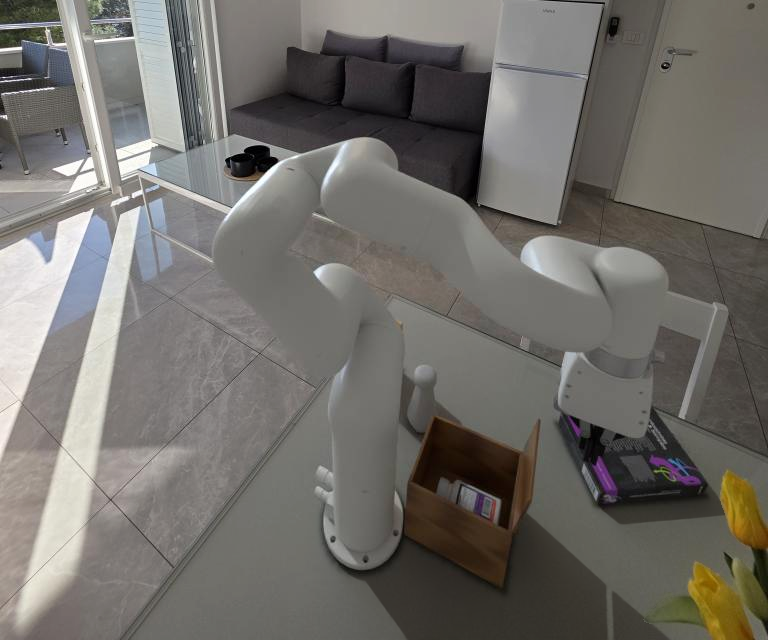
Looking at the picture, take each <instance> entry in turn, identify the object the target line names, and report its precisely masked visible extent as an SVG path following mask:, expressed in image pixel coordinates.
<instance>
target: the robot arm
mask: <svg viewBox="0 0 768 640" xmlns="http://www.w3.org/2000/svg"><path fill="white" fill-rule="evenodd" d="M318 209H322V210H323V212H324V214H325V215H326V217H328V219H330V221H332V222H333V223H335V224H336V225H337V226H340V227H342V228H344V229H346V230H349V231H351V232H353V233H356V234H358V235H360V236H363V237H365V238H366V239H369V240H372V241H373V242H376V243H379V244H381V245H384V246H386V247H388V248H390V249H393V250H395V251H397V252H400V253H401V254H402V253H403V254H404V255H407V256H409V257H411V258H413V259H415V260H418V261H420V262H423V263H425V264H427V265H429V266H432V267H433V268H435V269H436V270H437V271H439V272H440V273H441V274H442V275H443V276H444V278H445V279H446V280H447V281H448V283H450V285H452V286H453V287H454V289H456V290H457V291H458V292H459V293H460V294H461V295H463V297H465V298H466V299H467V300H468V301H469V302H470V303H471V304H472V305H473V306H474V307H475V308H477V309H478V310H479V311H480V312H481V313H482V314H484V315H485V316H486V317H488V318H489V319H490V320H491V321H493V322H494V323H496V324H497V325H499V326H500V327H502V328H504V329H506V330H508V331H509V332H512V333H513V334H516V335H518V336H521V337H522V338H524V339H525V338H526V339H527V340H529V341H532V342H535V343H537V344H540V345H541V346H544V347H547V348H550V349H553V350H557V351H561V352H565V354H564V356H563V360H562V364H561V368H560V373H559V377H558V391H557V392H556V394H555V396H554V397H553V403H552V404H553V405H552V407H553V408H554V409H555V410H556V411H557V412H559V413H560V414H561V413H563V414H565V415H568V416H569V417H570V419H571V420H572V421H573V422H574V424H575V425H576V426H577V427H578V428H579V430H580V433H579V439H578V448H580V449H582V450H583V461H585V462H587V461H588V462H589V459H590V463H592V465H594V466H596V464H597V460H598V456H600V457H602V458H603V456H604V452H605V447H606V446H609V445H610V444H611V442H612V441H613V440H618V439H622V438H625V437H627V438H629V439H634V440H639V441H644V440H645V433H646V430H647V427H648V422H649V417H650V409H651V407H652V402H653V401H652V400H653V389H654V367H653V366H654V365H653V363H656V364H657V363H659V364H662V365H664V364H665V363H666V352H665V351H663V350H660V349H658V348H657V347H655V345H654V344H655V341H656V336H657V332H658V328H659V325H660V322H661V318H662V315H663V311H664V310H663V309H664V306H665V302H666V299H667V294H668V291H669V286H670V278H669V273H668V272H667V270H666V268H665V267H664V266H663V264H661V262H659V261H658V260H657V259H656V258H654V257H653V256H651V255H650V254H648V253H645V252H643V251H641V250H638V249H635V248H631V247H625V246H613V247H602V246H598V245H593V244H590V243H586V242H583V241H579V240H575V239H571V238H568V237H564V236H557V235H541V236H537V237H534V238H532V239H531V240H529V241H528V242H527V243H525V245H524V246H523V248H522V250H521V253H520V259H519V258H517V257H516V256H515V255H514V254H512V253H511V252H510V251H509V250H508V249H506V248H505V247H504V246H503V244H502V243H501V242H500V241H499V240H498V239H497V238H496V237H495V236H494V234H493V233H492V231H490V229H489V227H488V226H487V225H486V224H485V222H484V221H483V219H481V217H480V216H479V214H478V213H477V212H476V211H475V210H474V208H473V207H471V206H470V204H469V203H467V201H465V200H464V199H463V198H461V197H459V196H457V195H455V194H453V193H450V192H448V191H446V190H444V189H440V188H438V187H435V186H433V185H431V184H429V183H427V182H424V181H422V180H419V179H417V178H415V177H413V176H410V175H408V174H406V173H404V172H401V171H399V161H398V157H397V155H396V153H395V151H394V150H393V148H391V147H390V145H388V144H387V143H386V142H384V141H382V140H381V139H378V138H375V137H368V136H367V137H365V136H363V137H354V138H351V139H346V140H343V141H339V142H336V143H333V144H330V145H328V146H323V147H320V148H316V149H314V150H309V151H307V152H303V153H300V154H297V155H293V156H290V157H288V158H285V159H283V160H280V161H278V162H277V163H276V164H274V165H273V166H272V167H270V169H268V170H267V171H266V172H265V173H264V174H263V175H262V176H261V177H260V178H259V179H258V180H257V181H256V183H254V184H253V185H252V186H251V187H250V188H249V189H248V190H247V191H246V192H245V193H244V195H242V196H241V198H239V200H238V201H237V202H236V203H235V205H233V207H232V208H231V209H230V210H229V212H228V213H227V214H226V215H225V217H224V219H222V221H221V224H220V225H219V227H218V229H217V230H216V233H215V235H214V238H213V241H212V246H211V260H212V264H213V266H214V269H215V272H216V274H217V276H218V277H219V279H220V280H221V281H222V282H223V284H224V285H225V286H226V287H227V288H228V289H229V290H230V291H231V292H232V293H234V294H235V295H236V296H237V297H238V298H240V299H241V301H243V302H244V303H245V304H246V305H247V306H249V307H250V308H251V310H253V312H254V313H255V314H256V315H257V316H258V317H259V319H260V320H261V321H262V323H263V324H264V325H265V326H266V328H267V329H268V330H269V331H270V332H271V334H272V335H273V336H274V337H275V338H276V340H277V341H278V342H279V343H280V344H281V346H282V347H283V348H284V350H286V352H287V353H288V354H289V355H290V356H291V358H292V359H293V360H294V361H295V362H296V363H297V364H298V365H299V367H301V368H302V369H303V370H304V371H305V372H306V373H308V374H309V375H311V376H312V377H315V378H318V379H328V378H331V377H333V381H332V385H331V389H330V393H329V397H328V402H327V403H328V404H327V418H328V423H329V428H330V432H331V455H332V471H330V470H329V469H328V468H325V467H324V466H322V465H319V466H318V468H317V469H316V472H315V475H314V479H315V481H318V482H319V483H321V484H323V485H326V486H328V487H330V491H329V492H328V491H327V490H325V489H324V488H322V487H321V486H319V485H316V487H315V489H314V490H313V497H314V498H316V499H318V500H320V501H322V502H324V511H323V521H322V522H323V523H322V524H323V534H324V538H325V542H326V544H327V547H328V549H329V551H330V552H331V554H332V555H333V556H334V558H335V559H336V560H337V561H338V562H340V564H342V565H344V566H345V567H347V568H350V569H353V570H357V571H366V570H373V569H375V568H377V567H379V566H381V565H383V564H384V563H385V562H387V561H388V560H389V559H390V558H391V556H392V555H393V554H394V552H395V551H396V549H397V548H398V546H399V543H400V541H401V538H402V534H403V531H404V509H403V504H402V501H401V498H400V495H399V493H398V492H397V490H396V480H397V478H396V477H397V476H396V475H397V460H398V440H399V439H398V438H399V437H398V436H399V422H400V410H401V399H402V388H403V387H402V386H403V377H404V376H403V375H404V374H403V372H404V361H405V351H406V348H405V347H406V343H405V335H404V332H402V330H401V327H400V326H399V324H398V322H397V321H396V320H397V319H396V318H395V316H394V315H393V313H392V312H391V311H390V310H389V309H388V307H387V306H386V304H385V303H384V302H383V301H382V299H381V298H380V297H379V295H378V293H377V292H376V291H375V290H374V288H373V287H372V286H371V285H370V283H369V282H368V281H367V280H366V278H365V277H364V276H363V275H362V274H361V273H360V272H359V271H357V270H356V269H354V268H353V267H351V266H349V265H346V264H343V263H337V262H332V263H326V264H324V265H321V266H319V267H317V268H316V269H315V270H313V269H312V268H311V267H310V266H309V265H308V264H307V263H306V262H305V261H304V260H302V259H301V258H299V257H298V256H296V255H293V254H291V253H289V252H290V251H291V249H292V248H293V247H294V245H295V244H296V242H297V241H298V239H300V237H301V234H302V233H303V231H304V230H305V228H306V226H307V225H308V223H309V222H310V220H311V218H312V216H313V214H314V213H315V211H317V210H318ZM593 424H594V427H593Z"/></svg>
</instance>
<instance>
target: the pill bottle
mask: <svg viewBox="0 0 768 640" xmlns="http://www.w3.org/2000/svg"><path fill="white" fill-rule="evenodd" d="M436 494H437V495H439V496H441V497H443V498H445V499H447V500H449V501H451V502H453V503H455V504H457V505H459V506H461V507H463V508H465V509H467V510H469V511H471V512H473V513H475V514H477V515H479V516H481V517H483V518H485V519H487V520H489V521H491V522H492V523H494V524H496V525H498V522H499V516H500V511H501V504H502V501H501V500H500V499H498V498H497V497H495V496H492V495H490V494H488V493H486V492H484V491H482V490H480V489H478V488H476V487H473V486H471V485H469V484H467V483H465V482H463V481H461V480H456V481H455V482H454V483H453V484H452V483H450V481H448V480H447V479H445V478H443V477H441V478H440V481H439V484H438V488H437V492H436Z"/></svg>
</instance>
